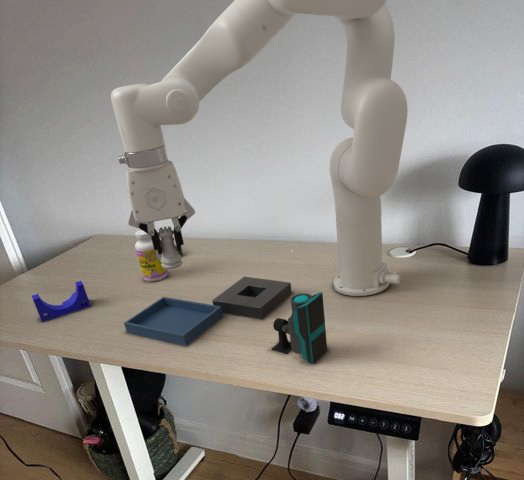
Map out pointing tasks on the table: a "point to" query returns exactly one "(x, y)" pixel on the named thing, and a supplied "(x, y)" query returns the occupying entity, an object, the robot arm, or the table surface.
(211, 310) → the basin tray
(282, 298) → the square hole block
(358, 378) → the table surface
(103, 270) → the table surface
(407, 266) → the table surface
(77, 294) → the blue curved cradle bracket
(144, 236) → the supplement bottle
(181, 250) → the usb drive
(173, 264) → the rook chess piece
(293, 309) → the surveillance camera
